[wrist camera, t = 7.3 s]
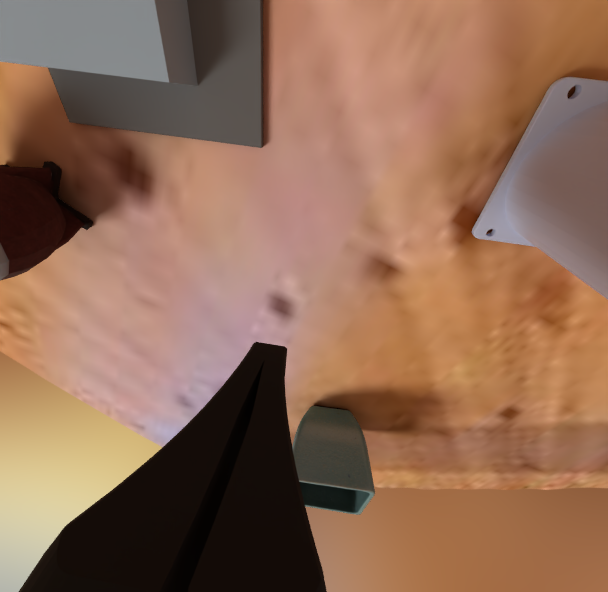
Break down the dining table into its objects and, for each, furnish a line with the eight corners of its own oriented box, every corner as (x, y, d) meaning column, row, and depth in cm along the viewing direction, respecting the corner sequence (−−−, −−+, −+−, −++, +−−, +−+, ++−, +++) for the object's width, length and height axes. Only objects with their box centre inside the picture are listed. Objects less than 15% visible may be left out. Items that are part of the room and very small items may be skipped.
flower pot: (357, 436, 36) (360, 517, 29) (296, 427, 37) (285, 504, 30) (368, 403, 31) (376, 493, 23) (297, 393, 31) (284, 478, 24)
